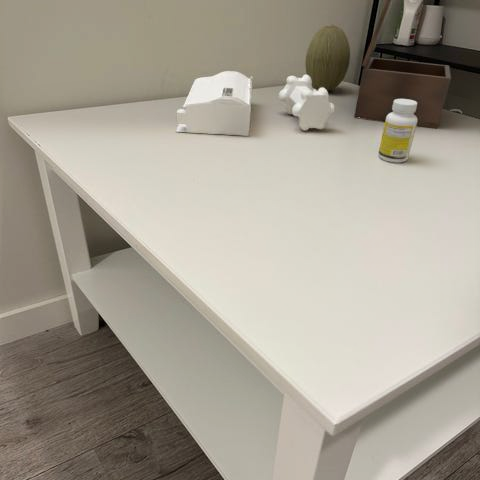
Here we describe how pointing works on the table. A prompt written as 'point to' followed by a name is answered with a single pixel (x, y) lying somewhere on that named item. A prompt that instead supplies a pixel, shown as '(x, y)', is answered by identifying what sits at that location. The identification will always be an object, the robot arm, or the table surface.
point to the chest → (403, 89)
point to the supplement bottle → (398, 131)
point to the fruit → (328, 58)
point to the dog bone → (306, 102)
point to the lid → (377, 31)
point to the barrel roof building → (218, 105)
